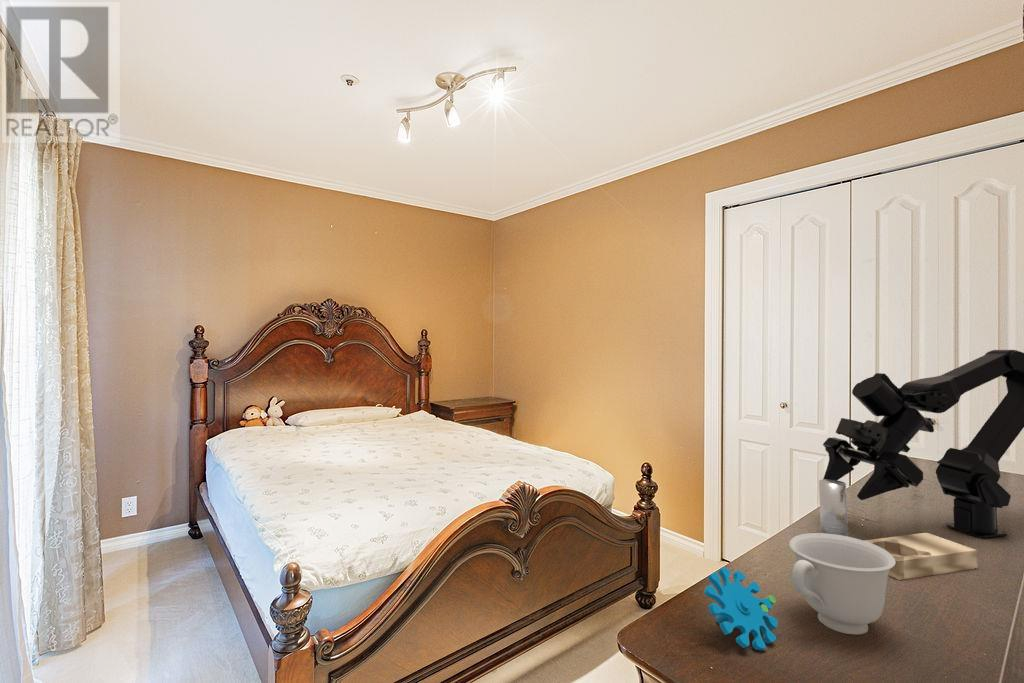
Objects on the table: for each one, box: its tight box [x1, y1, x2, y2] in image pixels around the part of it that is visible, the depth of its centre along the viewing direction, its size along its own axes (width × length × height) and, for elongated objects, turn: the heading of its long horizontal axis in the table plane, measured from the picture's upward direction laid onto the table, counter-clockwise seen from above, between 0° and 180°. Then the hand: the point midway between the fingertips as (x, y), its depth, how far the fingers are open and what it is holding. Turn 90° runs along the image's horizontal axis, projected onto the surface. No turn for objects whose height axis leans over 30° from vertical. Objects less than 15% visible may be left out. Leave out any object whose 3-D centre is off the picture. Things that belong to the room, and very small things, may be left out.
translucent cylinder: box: [818, 479, 849, 537], centre depth 94 cm, size 4×4×11 cm
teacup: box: [788, 532, 895, 636], centre depth 66 cm, size 12×15×10 cm
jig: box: [863, 532, 979, 581], centre depth 83 cm, size 16×8×3 cm, turn 101°
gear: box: [703, 567, 779, 651], centre depth 65 cm, size 11×6×10 cm
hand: (840, 491), depth 94 cm, fingers open, 9 cm apart
